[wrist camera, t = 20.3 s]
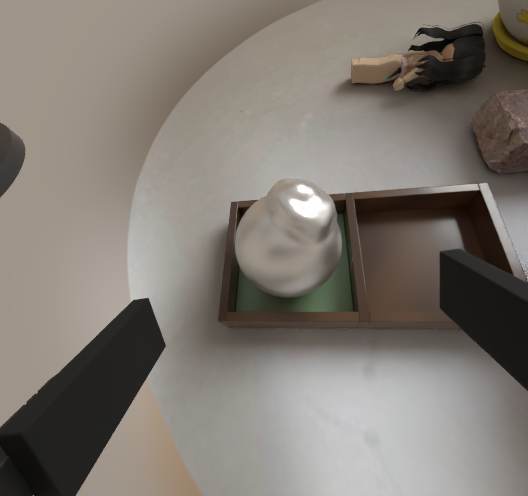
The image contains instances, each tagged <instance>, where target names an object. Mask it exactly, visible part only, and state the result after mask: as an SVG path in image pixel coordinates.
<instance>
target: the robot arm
mask: <svg viewBox="0 0 528 496" xmlns="http://www.w3.org/2000/svg"><path fill="white" fill-rule="evenodd" d="M440 309H441V310H442V311H443V312H444V313H445V314H446V315H447V316H448V317H449V318H450V319H452V320H453V321H454V322H455V323H456V324H457V325H458V326H459V327H460V328H461V329H462V330H463V331H464V332H465V333H466V334H468V335H469V336H470V337H471V338H472V339H473V340H474V341H475V342H476V343H477V344H478V345H479V346H480V347H481V348H483V349H484V350H485V351H486V352H487V353H488V354H489V355H490V356H491V357H492V358H493V359H494V360H495V361H496V362H498V363H499V364H500V365H501V366H502V367H503V368H504V369H505V370H506V371H507V372H508V373H509V374H510V375H511V376H512V377H514V378H515V379H516V380H517V381H518V382H519V383H520V384H521V385H522V386H523V387H524V388H525V389H526V390H527V391H528V283H527V282H525V281H523V280H521V279H519V278H517V277H515V276H513V275H511V274H509V273H507V272H505V271H503V270H501V269H499V268H497V267H495V266H493V265H491V264H489V263H487V262H485V261H483V260H481V259H479V258H477V257H475V256H473V255H471V254H469V253H467V252H465V251H463V250H461V249H459V248H458V249H452V250H446V251H440ZM165 347H166V345H165V342H164V339H163V337H162V334H161V331H160V328H159V326H158V323H157V320H156V318H155V315H154V312H153V309H152V307H151V304H150V301H149V299H148V298H144V299H138V300H133V301H132V302H131V303H130V304H129V305H128V306H127V307H126V308H125V309H124V310H123V311H122V312H121V313H120V314H119V315H118V316H117V317H116V318H115V319H113V320H112V321H111V322H110V323H109V324H108V325H107V326H106V327H105V328H104V329H103V330H102V331H101V332H100V333H99V334H98V335H97V336H96V337H95V338H94V339H93V340H92V341H91V342H90V343H89V344H88V345H87V346H86V347H85V348H84V349H83V350H82V351H81V352H80V353H79V354H78V355H77V356H75V357H74V358H73V359H72V360H71V361H70V362H69V363H68V364H67V365H66V366H65V367H64V368H63V369H62V370H61V371H60V372H59V373H58V374H57V375H55V376H54V377H53V378H51V379H50V380H49V381H48V382H47V383H46V384H45V385H44V386H43V387H42V388H41V389H40V390H39V391H38V393H37V394H34V395H33V396H32V398H30V399H29V400H28V401H27V404H26V405H23V406H22V407H21V408H20V409H19V410H18V411H17V412H16V413H15V414H14V415H13V416H12V417H11V418H10V419H9V420H8V421H6V422H5V423H4V424H3V425H2V426H1V427H0V496H33V495H34V496H76V494H77V492H78V491H79V489H80V487H81V485H82V484H83V482H84V481H85V479H86V477H87V476H88V474H89V473H90V471H91V469H92V468H93V466H94V464H95V463H96V461H97V459H98V457H99V456H100V454H101V453H102V451H103V449H104V448H105V446H106V444H107V443H108V441H109V439H110V438H111V436H112V434H113V433H114V431H115V429H116V428H117V426H118V425H119V423H120V421H121V419H122V418H123V416H124V415H125V413H126V411H127V410H128V408H129V406H130V405H131V403H132V401H133V400H134V398H135V396H136V395H137V393H138V391H139V390H140V388H141V386H142V385H143V383H144V381H145V380H146V378H147V376H148V375H149V373H150V371H151V370H152V368H153V366H154V365H155V363H156V362H157V360H158V358H159V357H160V355H161V353H162V352H163V350H164V348H165Z"/></svg>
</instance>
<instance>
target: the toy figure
mask: <svg viewBox="0 0 528 496" xmlns="http://www.w3.org/2000/svg"><path fill="white" fill-rule="evenodd" d="M474 23H476V22H474ZM480 23H481V22H480ZM469 24H471V23H469ZM482 24H483V23H482ZM425 25H426V24H425ZM465 25H466V24H465ZM428 26H429V25H428ZM436 26H438V25H436ZM439 26H440V25H439ZM462 26H463V25H462ZM432 27H433V26H432ZM459 27H460V26H459ZM483 27H484V25H483ZM453 29H454V28H453ZM483 30H484V29H483ZM418 32H419V34H418ZM424 33H425V34H426V35H428V36H430V37H432V36H433V37H432V38H443V39H444V40H443V41H433V42H428V43H426V44H423V45H421V46H415V45H411V47H410V49H409V50H414V52H411V53H408V54H405V55H402V56H401V55H399V54H392V55H389V56H385V57H382V58H359V60H358V59H357V58H355V59H352V65H351V80H352V83H369V84H376V83H382V82H386V81H390V80H393V79H396V78H397V77H399V78H398V79H396V80H395V82H394V84H393V88H394V91H398V90H401V89H402V88H403V87H404V83H407V82H408V81H410V80H412V79H414V78H416V77H425V76H426V77H428V78H429V79H430V81H434V82H432V83H431V84H428V85H425V84H414V85H411V86H410V85H409V86H408V85H406V86H407V87H408V88H409V89H424V90H430V89H432V88H434V87H435V86H437V85H439V84H440V83H443V82H450V83H461V82H466V81H469V80H471V79H473V78H475V77H477V76H478V75H479V74H480V73H481V72H482V69H483V68H484V67H485V65H484V62H485V55H486V54H485V51H484V50H485V41H484V38H483V31H482V27H481V26H479V25H477V24H472V25H467V26H464V27H461V28H459V29H456V30H453V31H445V30H443V29H441V28H439V27H435V28H420V29H419V30H418V31H417V33H416V34H418V35H415V36H419V35H420V34H424ZM414 38H416V37H414ZM413 40H414V39H413ZM409 50H408V51H409ZM422 50H424V51H422ZM441 52H442V53H441ZM483 66H484V67H483ZM475 79H476V78H475ZM428 81H429V80H428ZM467 83H468V82H467ZM443 84H445V83H443ZM463 84H464V83H463ZM440 85H441V84H440ZM437 87H438V86H437ZM434 89H435V88H434ZM418 91H419V90H418ZM421 91H422V90H421Z"/></svg>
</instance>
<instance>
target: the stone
mask: <svg viewBox="0 0 528 496" xmlns="http://www.w3.org/2000/svg"><path fill="white" fill-rule="evenodd" d="M471 124H472V129H473V131H474V132H475V133H476V135H477V142H479V148H480V150H481V151H482V156H483V158H484V161H485V162H487V164H488V167H489V169H491V170H494V171H496V172H498V173H512V172H523V171H528V89H524V90H508V91H504V90H503V91H501V92H496V93H495V94H493V95H492V96H491V97H490V99H489V100H488V101H487V102H486V103H485V104H484V105H483V106H482V107H481V108H480V110H479V111H478V112H477V114H476V115H475V117H474V118H473V122H472V123H471Z"/></svg>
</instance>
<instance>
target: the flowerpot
mask: <svg viewBox="0 0 528 496" xmlns="http://www.w3.org/2000/svg"><path fill="white" fill-rule="evenodd" d="M498 3H499V11H500V12H499V13H498V14H497V15H496V17H495V18H494V21H493V31H494V34H495V35H496V41H497V43H498V45H499V46H500V47H501V48H502V49H503V50H504V51H505V52H507V53H508V54H510V55H512V56H514V57H516V58H519V59H521V60H524V61H528V0H498Z"/></svg>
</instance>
